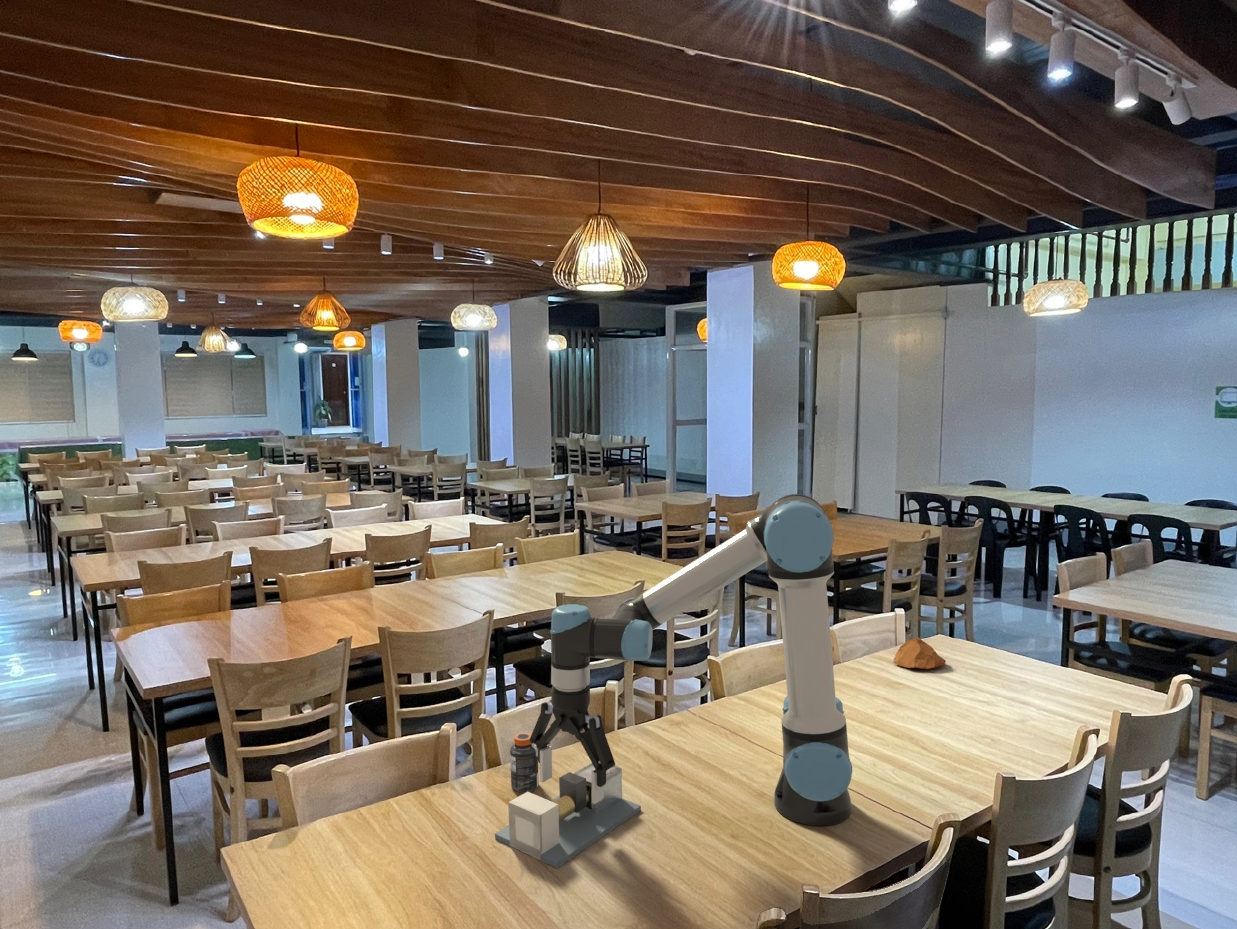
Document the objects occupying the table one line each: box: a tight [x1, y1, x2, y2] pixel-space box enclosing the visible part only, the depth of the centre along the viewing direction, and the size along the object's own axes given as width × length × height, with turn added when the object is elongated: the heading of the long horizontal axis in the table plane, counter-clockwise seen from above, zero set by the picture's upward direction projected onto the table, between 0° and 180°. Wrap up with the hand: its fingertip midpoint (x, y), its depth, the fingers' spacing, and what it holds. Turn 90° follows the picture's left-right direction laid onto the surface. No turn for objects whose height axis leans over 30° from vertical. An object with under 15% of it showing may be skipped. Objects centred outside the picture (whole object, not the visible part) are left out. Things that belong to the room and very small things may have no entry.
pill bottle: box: [509, 732, 540, 793], centre depth 173 cm, size 6×6×11 cm
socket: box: [508, 791, 559, 862], centre depth 150 cm, size 8×5×8 cm, turn 52°
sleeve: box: [573, 761, 623, 816], centre depth 164 cm, size 6×8×6 cm
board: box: [494, 795, 642, 869], centre depth 158 cm, size 16×25×1 cm, turn 142°
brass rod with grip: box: [554, 772, 592, 821], centre depth 160 cm, size 4×15×7 cm, turn 142°
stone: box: [893, 637, 947, 670], centre depth 247 cm, size 15×15×10 cm
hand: (571, 790), depth 158 cm, fingers open, 13 cm apart
